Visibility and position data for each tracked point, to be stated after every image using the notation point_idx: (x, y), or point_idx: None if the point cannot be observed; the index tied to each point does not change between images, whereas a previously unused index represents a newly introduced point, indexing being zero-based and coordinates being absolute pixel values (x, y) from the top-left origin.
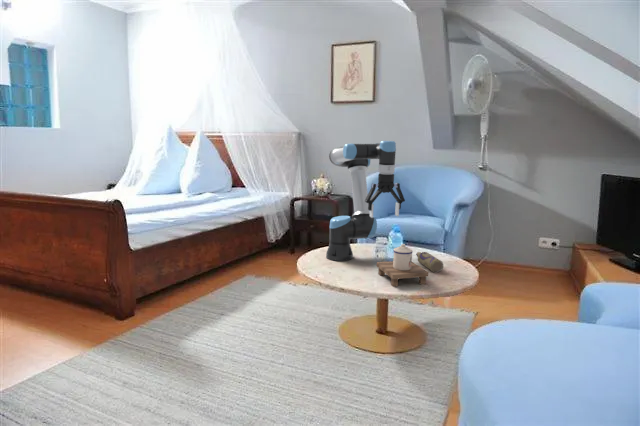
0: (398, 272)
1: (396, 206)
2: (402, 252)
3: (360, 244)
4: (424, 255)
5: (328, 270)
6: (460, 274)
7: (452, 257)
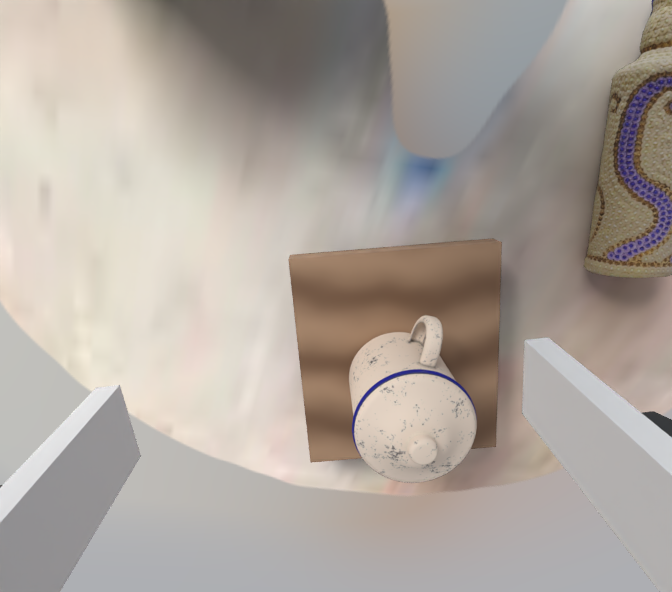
0: (351, 434)
1: (615, 471)
2: (390, 478)
3: None
4: (651, 136)
5: (36, 154)
6: None
7: None
